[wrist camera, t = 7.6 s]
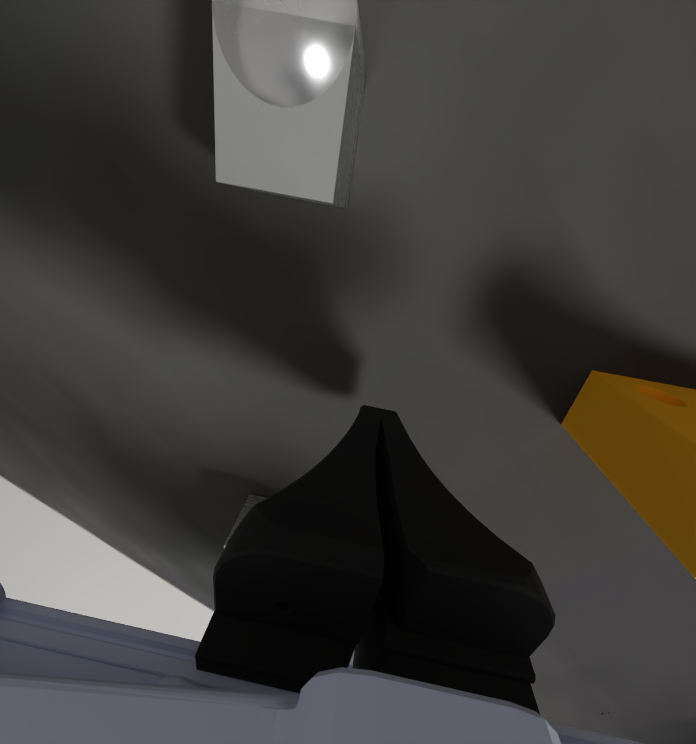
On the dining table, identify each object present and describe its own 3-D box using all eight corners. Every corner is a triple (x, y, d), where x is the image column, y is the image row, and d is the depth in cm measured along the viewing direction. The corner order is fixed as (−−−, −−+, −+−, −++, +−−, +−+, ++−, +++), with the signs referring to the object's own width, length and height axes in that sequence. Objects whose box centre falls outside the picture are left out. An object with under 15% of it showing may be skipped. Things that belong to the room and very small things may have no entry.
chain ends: (295, 557, 19) (280, 613, 16) (247, 547, 19) (225, 601, 16) (375, 12, 8) (370, -89, 6) (266, -6, 8) (209, -116, 6)
